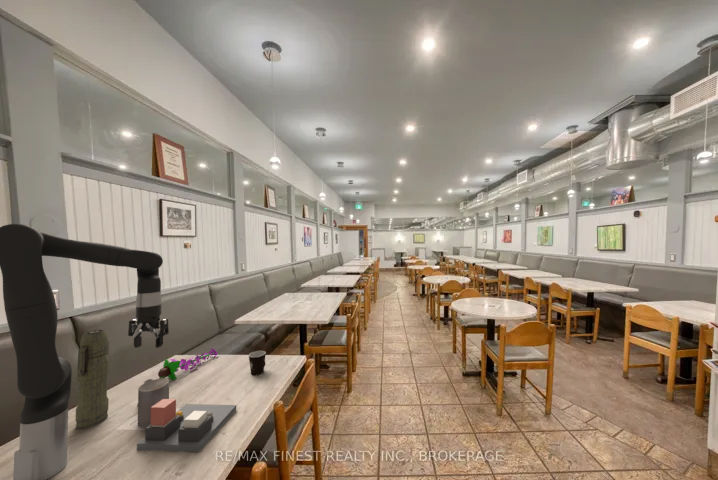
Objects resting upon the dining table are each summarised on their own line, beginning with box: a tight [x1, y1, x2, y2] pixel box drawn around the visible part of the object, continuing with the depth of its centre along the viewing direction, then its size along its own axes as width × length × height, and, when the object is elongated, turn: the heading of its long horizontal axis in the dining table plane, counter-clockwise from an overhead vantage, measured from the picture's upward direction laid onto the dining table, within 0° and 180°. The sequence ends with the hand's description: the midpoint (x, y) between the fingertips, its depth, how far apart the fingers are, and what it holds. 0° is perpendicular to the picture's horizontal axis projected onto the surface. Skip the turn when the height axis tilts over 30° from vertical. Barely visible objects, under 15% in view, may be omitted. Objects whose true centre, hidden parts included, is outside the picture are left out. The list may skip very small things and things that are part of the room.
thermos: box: [75, 329, 110, 430], centre depth 101 cm, size 9×12×35 cm
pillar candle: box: [137, 377, 170, 428], centre depth 101 cm, size 10×10×15 cm
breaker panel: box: [136, 403, 237, 453], centre depth 95 cm, size 22×22×6 cm
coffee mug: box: [248, 350, 267, 376], centre depth 137 cm, size 12×9×10 cm
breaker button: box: [184, 411, 207, 428], centre depth 89 cm, size 5×5×4 cm
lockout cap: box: [151, 398, 177, 426], centre depth 90 cm, size 5×5×6 cm
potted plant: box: [157, 348, 218, 380], centre depth 145 cm, size 12×16×35 cm
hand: (148, 347), depth 97 cm, fingers open, 8 cm apart
